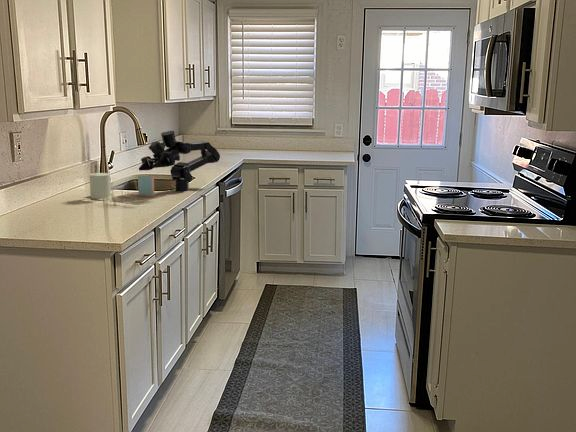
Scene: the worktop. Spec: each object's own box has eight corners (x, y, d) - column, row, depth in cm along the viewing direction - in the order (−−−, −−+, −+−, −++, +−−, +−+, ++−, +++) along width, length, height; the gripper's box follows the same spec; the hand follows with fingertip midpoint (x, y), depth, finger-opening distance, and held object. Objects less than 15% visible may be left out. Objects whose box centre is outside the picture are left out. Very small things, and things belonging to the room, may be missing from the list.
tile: (140, 193, 275) (140, 175, 274) (154, 195, 272) (153, 176, 270) (138, 194, 274) (137, 175, 272) (152, 195, 271) (151, 176, 269)
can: (86, 199, 266) (84, 173, 264) (103, 196, 273) (102, 171, 271) (98, 201, 261) (96, 175, 258) (115, 199, 268) (114, 173, 265)
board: (136, 194, 280) (136, 192, 280) (166, 197, 273) (166, 195, 272) (114, 199, 267) (114, 196, 267) (146, 203, 259) (146, 200, 259)
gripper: (147, 142, 278) (125, 154, 266) (175, 136, 267) (152, 148, 255) (157, 163, 281) (135, 176, 270) (184, 158, 270) (162, 171, 259)
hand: (145, 168), depth 263 cm, fingers open, 9 cm apart
